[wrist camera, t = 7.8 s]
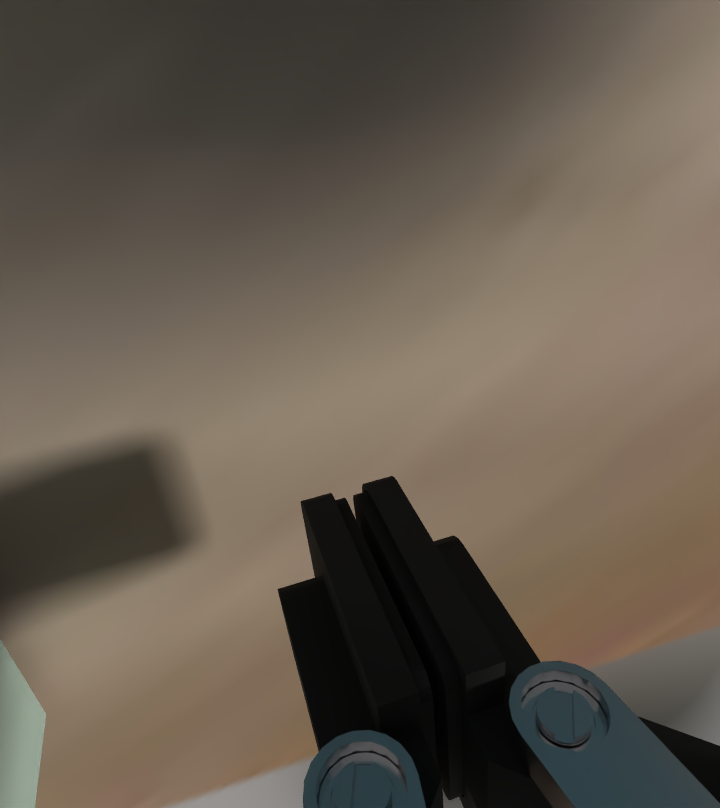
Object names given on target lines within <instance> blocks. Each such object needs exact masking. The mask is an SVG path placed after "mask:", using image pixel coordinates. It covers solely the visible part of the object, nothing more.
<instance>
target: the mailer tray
mask: <svg viewBox="0 0 720 808" xmlns="http://www.w3.org/2000/svg"><path fill="white" fill-rule="evenodd" d="M45 719H46V713H45V712H44V710H43V708H42V707H41V705H40V704H39V702H38V700H37V699H36V697H35V695H34V694H33V692H32V690H31V689H30V687H29V685H28V684H27V682H26V681H25V679H24V677H23V676H22V674H21V672H20V671H19V669H18V667H17V666H16V664H15V663H14V661H13V659H12V658H11V656H10V654H9V653H8V651H7V649H6V648H5V646H4V644H3V643H2V641H1V640H0V808H35V801H36V793H37V784H38V776H39V768H40V760H41V752H42V744H43V736H44V728H45Z"/></svg>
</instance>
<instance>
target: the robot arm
mask: <svg viewBox="0 0 720 808" xmlns="http://www.w3.org/2000/svg"><path fill="white" fill-rule="evenodd" d="M353 500H354V508H355V516H356V519H355V517H354V515H353V513H352V510H351V508H350V506H349V504H348V502H347V500H346V498H342V499H339V500H335V499H334V497H333V495H332V494H331V493H329V494H325V495H322V496H318V497H315V498H311V499H307V500H304V501H301V507H302V513H303V518H304V523H305V528H306V533H307V539H308V544H309V549H310V554H311V559H312V564H313V570H314V575H315V578H313V579H309V580H306V581H303V582H300V583H296V584H293V585H290V586H287V587H283V588H280V589H278V593H279V597H280V601H281V605H282V609H283V613H284V617H285V622H286V626H287V630H288V634H289V638H290V642H291V646H292V650H293V653H294V657H295V661H296V665H297V669H298V673H299V677H300V681H301V685H302V688H303V692H304V696H305V700H306V704H307V708H308V712H309V716H310V719H311V723H312V727H313V731H314V735H315V739H316V743H317V747H318V750H319V753H318V754H317V755H316V757H315V758H314V759H313V761H312V762H311V764H310V767H309V769H308V772H307V775H306V777H305V780H304V792H303V807H304V808H443V793H442V788H443V791H444V793H445V795H446V797H447V798H448V800H451V799H454V798H456V797H460V800H461V802H462V805H463V807H464V808H720V746H718V745H715V744H712V743H710V742H707V741H704V740H702V739H699V738H696V737H693V736H690V735H688V734H685V733H682V732H679V731H677V730H674V729H671V728H668V727H666V726H663V725H660V724H657V723H654V722H652V721H649V720H646V719H644V718H641V717H638V716H636V714H634V713H633V712H632V710H631V709H630V708H629V707H628V706H627V705H626V704H625V703H624V702H623V701H622V700H621V699H620V698H619V697H618V696H617V694H615V693H614V691H613V690H612V689H611V688H610V687H609V686H608V685H607V684H606V683H605V682H604V681H602V680H601V679H600V678H599V677H597V676H596V675H595V674H594V673H593V672H591V671H589V670H587V669H585V668H583V667H580V666H578V665H576V664H572V663H567V662H563V661H545V662H540V660H539V659H538V657H537V656H536V654H535V653H534V651H533V650H532V648H531V647H530V645H529V644H528V642H527V641H526V639H525V638H524V636H523V635H522V633H521V632H520V630H519V629H518V627H517V625H516V624H515V622H514V621H513V619H512V618H511V616H510V615H509V613H508V612H507V610H506V609H505V607H504V606H503V604H502V603H501V601H500V600H499V598H498V597H497V595H496V594H495V592H494V591H493V589H492V588H491V586H490V585H489V583H488V582H487V580H486V578H485V577H484V575H483V574H482V572H481V571H480V569H479V568H478V566H477V565H476V563H475V562H474V560H473V559H472V557H471V556H470V554H469V553H468V551H467V550H466V548H465V547H464V545H463V544H462V543H461V541H460V540H459V539H458V538H457V537H455V536H450V537H447V538H444V539H440V540H437V541H434V542H433V540H432V538H431V537H430V535H429V533H428V532H427V530H426V528H425V527H424V525H423V523H422V522H421V520H420V518H419V517H418V515H417V513H416V512H415V510H414V508H413V507H412V505H411V503H410V502H409V500H408V498H407V497H406V495H405V494H404V492H403V490H402V489H401V487H400V485H399V484H398V482H397V480H396V479H395V478H394V477H393V476H390V477H387V478H383V479H379V480H376V481H372V482H369V483H365V484H363V485H362V493H360V494H356V495H354V496H353Z"/></svg>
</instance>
